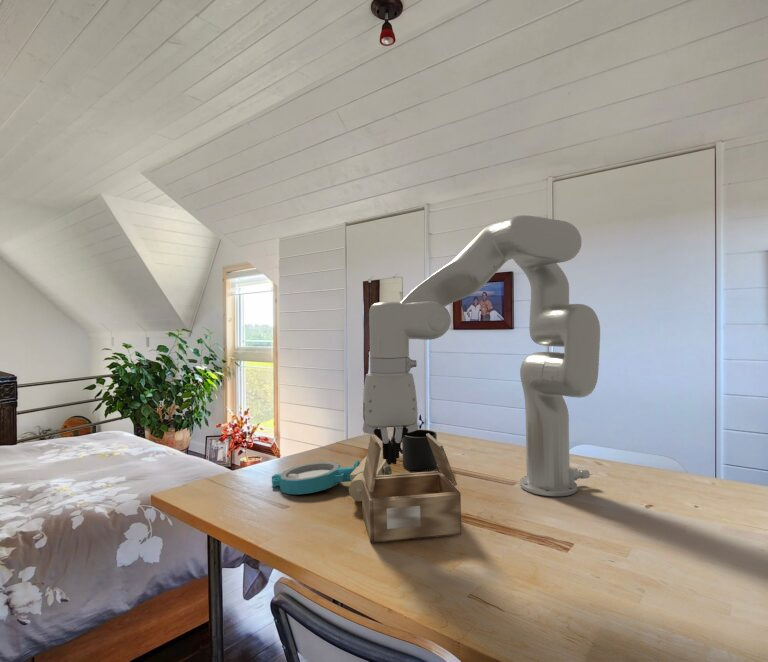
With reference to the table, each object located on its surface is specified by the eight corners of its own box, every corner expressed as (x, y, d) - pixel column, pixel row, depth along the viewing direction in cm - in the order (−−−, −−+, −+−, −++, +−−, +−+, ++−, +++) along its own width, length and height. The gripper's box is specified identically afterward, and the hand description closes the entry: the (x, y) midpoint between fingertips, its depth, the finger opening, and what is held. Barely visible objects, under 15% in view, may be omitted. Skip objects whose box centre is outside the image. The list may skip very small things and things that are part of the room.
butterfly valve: (249, 517, 101) (381, 510, 95) (245, 486, 101) (377, 476, 95) (296, 478, 128) (402, 470, 121) (293, 453, 128) (399, 444, 122)
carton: (441, 507, 97) (440, 470, 97) (463, 536, 83) (462, 494, 83) (362, 514, 95) (361, 476, 95) (371, 546, 81) (370, 502, 81)
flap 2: (454, 486, 85) (439, 446, 85) (439, 469, 95) (425, 434, 95) (457, 484, 85) (442, 445, 85) (442, 468, 95) (428, 433, 95)
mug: (407, 458, 135) (406, 427, 135) (443, 464, 127) (442, 432, 127) (388, 466, 127) (387, 433, 127) (425, 473, 120) (424, 439, 120)
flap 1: (366, 475, 93) (373, 435, 93) (372, 492, 83) (381, 448, 83) (363, 474, 93) (370, 435, 93) (369, 491, 83) (377, 447, 83)
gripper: (422, 364, 93) (424, 455, 93) (348, 366, 91) (350, 459, 91) (432, 367, 86) (434, 465, 86) (352, 369, 83) (354, 470, 84)
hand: (391, 462), depth 88 cm, fingers closed
